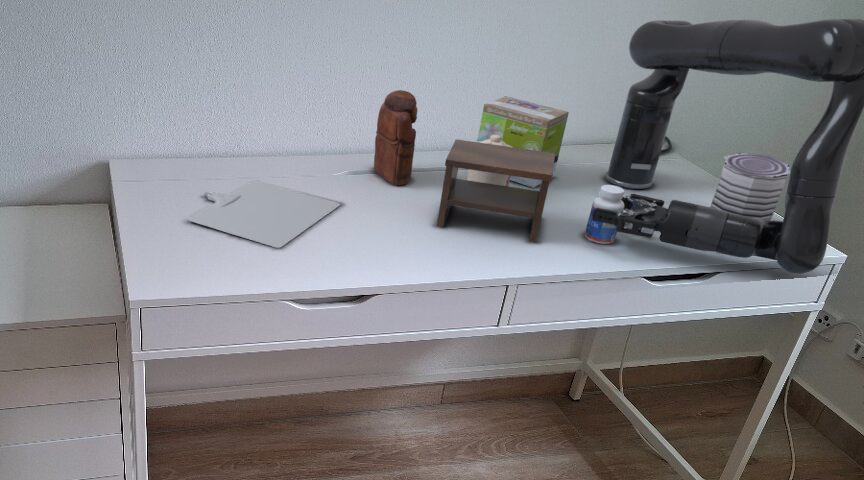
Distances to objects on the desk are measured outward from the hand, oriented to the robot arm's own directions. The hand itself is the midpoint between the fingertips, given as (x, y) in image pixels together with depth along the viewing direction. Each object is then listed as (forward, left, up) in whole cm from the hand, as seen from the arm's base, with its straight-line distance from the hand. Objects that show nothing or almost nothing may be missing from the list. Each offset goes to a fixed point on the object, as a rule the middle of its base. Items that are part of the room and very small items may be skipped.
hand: (597, 206), depth 157 cm
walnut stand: (+1, -18, -6) cm, 19 cm away
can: (-21, +28, -6) cm, 35 cm away
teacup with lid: (-17, -21, -6) cm, 28 cm away
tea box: (-29, -16, -6) cm, 34 cm away
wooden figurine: (-16, -40, -6) cm, 44 cm away
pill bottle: (0, +2, -6) cm, 6 cm away
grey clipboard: (+14, -60, -6) cm, 62 cm away
